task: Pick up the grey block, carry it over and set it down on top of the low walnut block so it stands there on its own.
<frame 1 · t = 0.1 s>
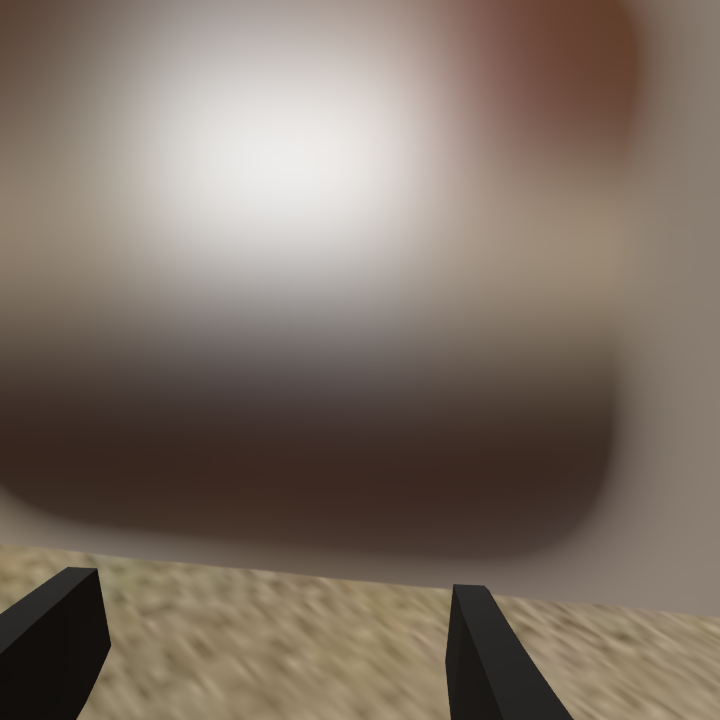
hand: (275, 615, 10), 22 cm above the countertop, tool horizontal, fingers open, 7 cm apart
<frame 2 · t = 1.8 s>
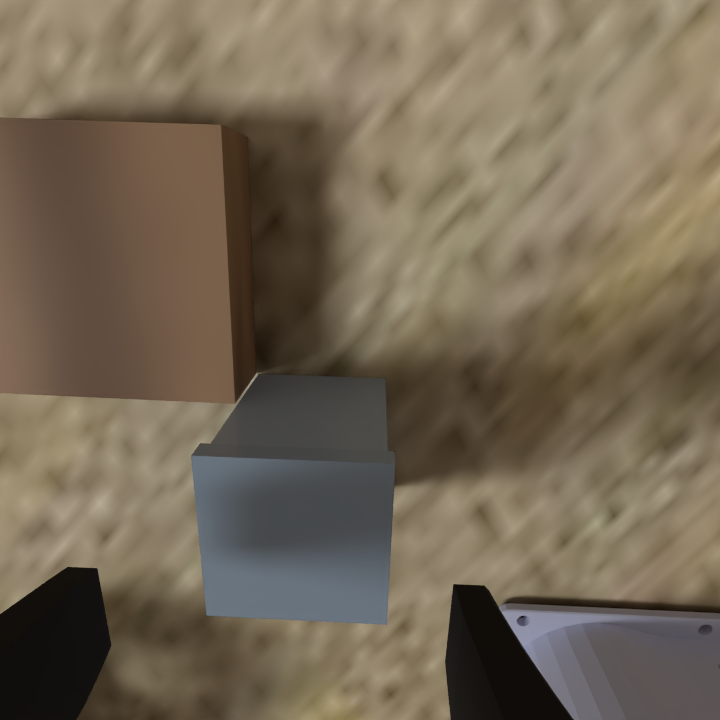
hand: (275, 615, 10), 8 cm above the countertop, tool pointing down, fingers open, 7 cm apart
walnut block: (142, 258, 16), on the countertop
grey block: (321, 433, 18), on the countertop
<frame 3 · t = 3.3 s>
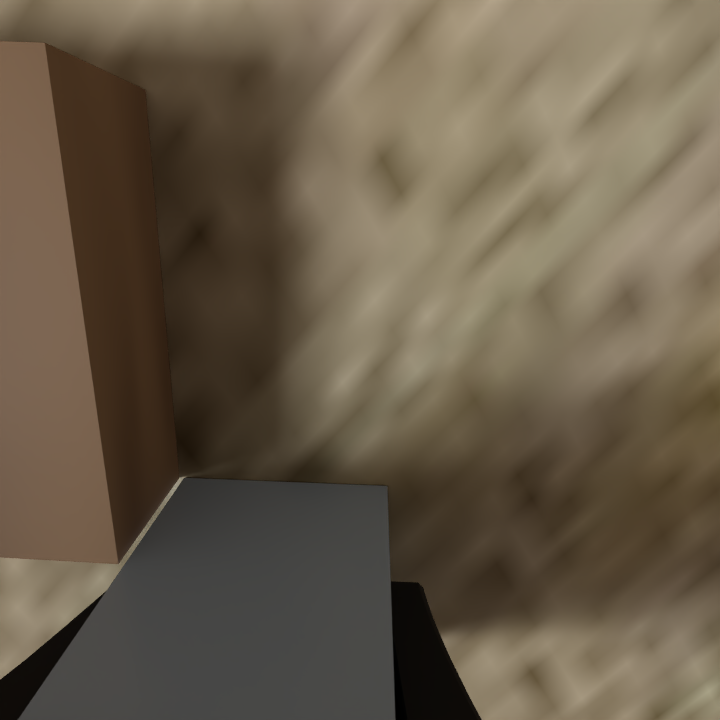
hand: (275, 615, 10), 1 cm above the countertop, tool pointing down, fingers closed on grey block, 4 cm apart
grey block: (287, 564, 11), on the countertop, touching gripper
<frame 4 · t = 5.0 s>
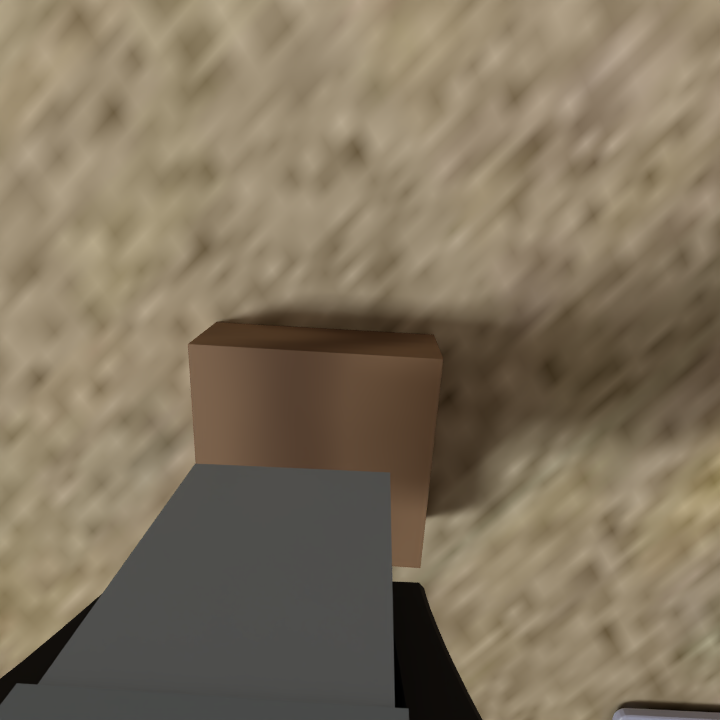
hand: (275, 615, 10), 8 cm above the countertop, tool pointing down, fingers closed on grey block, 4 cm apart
walnut block: (322, 422, 18), on the countertop
grey block: (293, 549, 12), point 7 cm above the countertop, touching gripper
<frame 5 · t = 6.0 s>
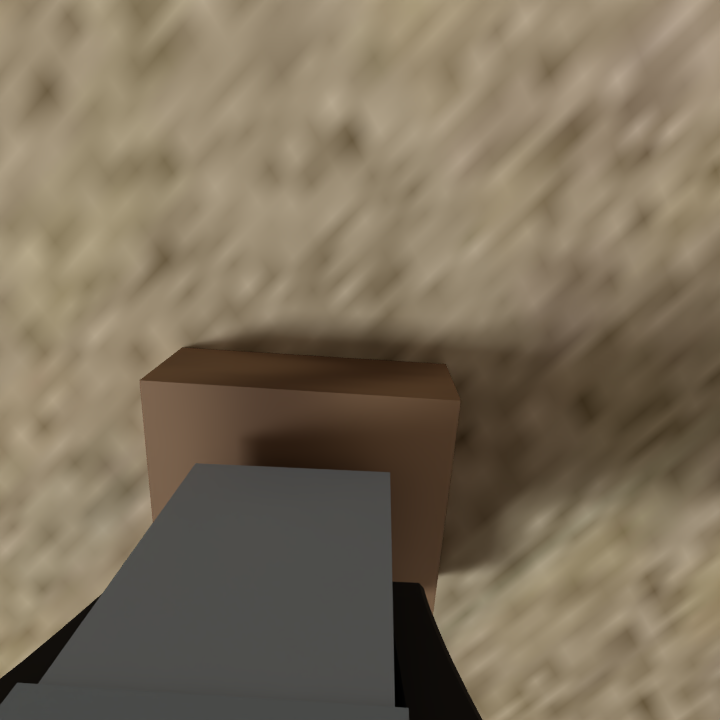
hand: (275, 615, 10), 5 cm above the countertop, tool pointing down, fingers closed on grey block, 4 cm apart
walnut block: (311, 465, 15), on the countertop
grey block: (293, 548, 12), point 4 cm above the countertop, touching gripper
when the fingers open (5 cm above the countertop, at t = 6.5 s): grey block moves 1 cm, point 3 cm above the countertop.
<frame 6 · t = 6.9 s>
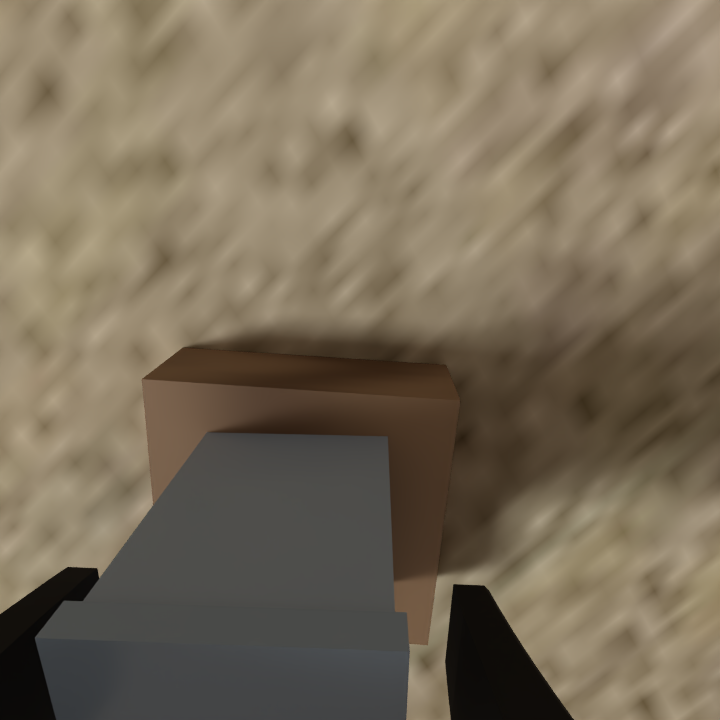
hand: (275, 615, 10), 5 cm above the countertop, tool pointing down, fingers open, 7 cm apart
walnut block: (312, 463, 15), on the countertop
grey block: (299, 511, 12), point 3 cm above the countertop
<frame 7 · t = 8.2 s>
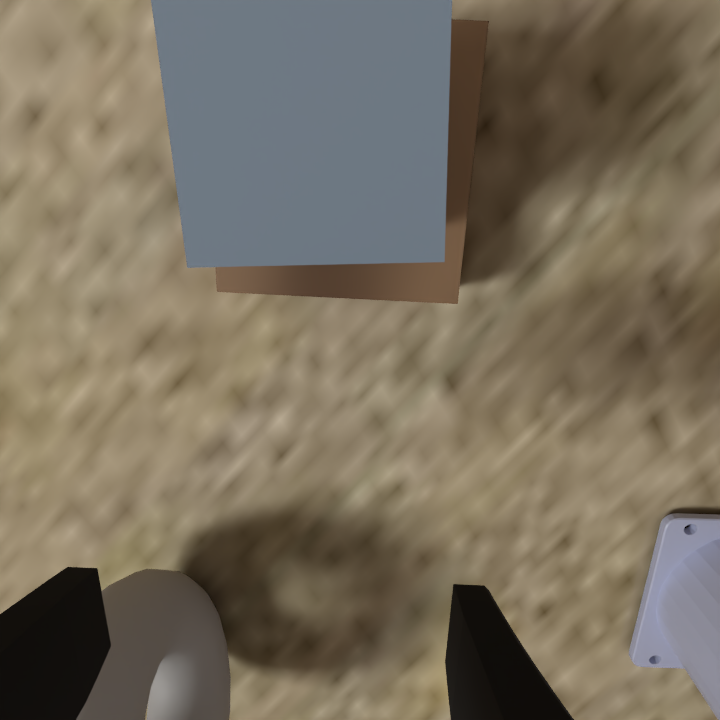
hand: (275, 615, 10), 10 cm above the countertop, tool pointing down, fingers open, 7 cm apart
walnut block: (346, 173, 17), on the countertop
donut: (196, 603, 23), on the countertop
grey block: (336, 153, 14), point 3 cm above the countertop
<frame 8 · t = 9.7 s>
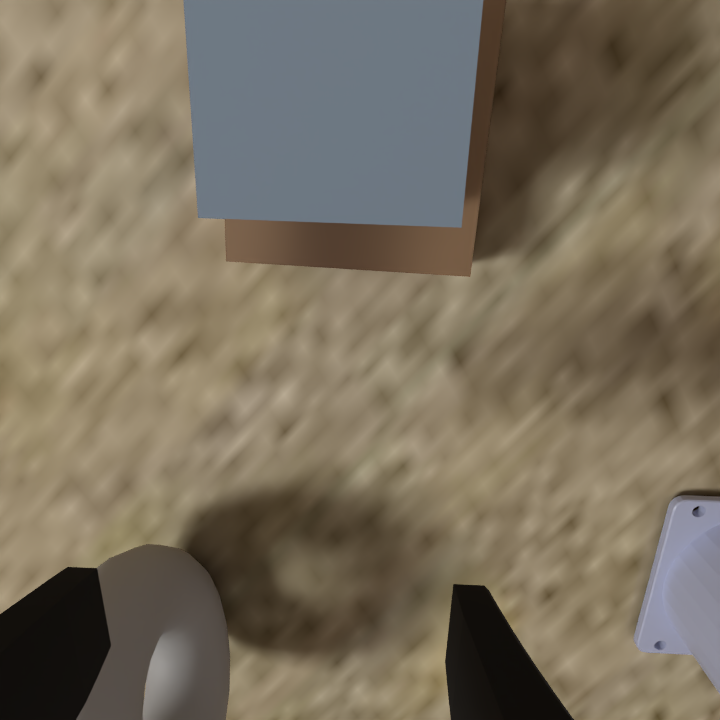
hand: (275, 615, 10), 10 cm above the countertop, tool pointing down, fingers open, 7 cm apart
walnut block: (358, 145, 17), on the countertop, touching grey block
donut: (195, 583, 22), on the countertop
grey block: (349, 126, 14), point 3 cm above the countertop, touching walnut block
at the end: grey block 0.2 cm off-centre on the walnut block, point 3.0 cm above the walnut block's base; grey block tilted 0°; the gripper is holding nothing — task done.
